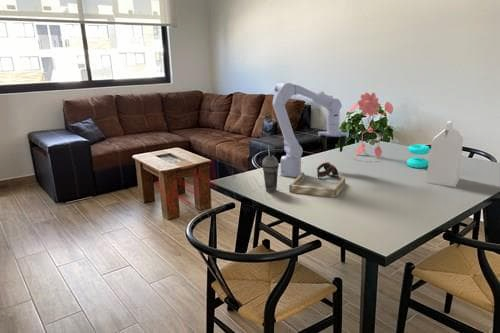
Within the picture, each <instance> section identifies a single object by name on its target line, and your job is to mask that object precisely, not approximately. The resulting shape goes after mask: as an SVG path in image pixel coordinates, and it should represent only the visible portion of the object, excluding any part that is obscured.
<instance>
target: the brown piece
mask: <svg viewBox="0 0 500 333" xmlns="http://www.w3.org/2000/svg"><path fill="white" fill-rule="evenodd" d="M322 168H323V169H324V170H322V171H320V170H321V169H322ZM331 175H332V176H336V177H337V179H340V175H339V171H338V169H337V167H336V166H335V164H334V165H333V164H332V163H331V162H328V161H326V162H324V163H320V165H318V167H316V176H317V179H318V178H324V177H327V176H329V177H330V176H331Z"/></svg>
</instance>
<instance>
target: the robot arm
mask: <svg viewBox="0 0 500 333" xmlns="http://www.w3.org/2000/svg"><path fill="white" fill-rule="evenodd" d="M273 92H274V93H273V97H272V98H273V99H272V103H271V104H272V107H273V110H274V113H275V116H276V119H277V121H278V122H277V123H278V125H279V128H280V130H281V133H282V136H283V144H284V146H283V150H284V152H285V153H286V154H285V155H282V156H281V158H280V164H279V165H280V174H279V175H280V176H283V177H284V176H285V177H291V178H292V177H293V178H297V177H298V176H299V175H300V174H301V173H304V172H305V171H303V170H302V155H303V148H302V147H303V146H301V144H299V141H298V140H297V138H296V136H295V134H294V130H293V128H292V125H291V121H290V118H289V115H288V112H287V108H286V104H287V102H288V101H289V100H290V99H291V98H292V97H293V96H297V95H301V96H303V97H306V98H308V99H311V101H312V102H313V104H315V105H318V106H319V107H323V108H325V109H326V112H327V113H326V121H327V122H326V130H327V131H318V132H317V136H318V137H319V140H320V141H321V145H322V147H323V151H325V152H326V151H327V150H328V146H327V145H328V144H327V142H328V140H327V139H328V137H334V138H336V137H338V138H339V152H340V153H341V152H343V148H344V144H345V142H346V140H347V138H349V136H350V133H349V132H346V131H345V132H344V131H340V110H341V109H342V107H343V104H342V102H341V100H340V99H339V98H335V97H334V96H333V95H328V94H326V93H325V91H323V90H322V91H317V92H314V91H312V90H310V89H308V88H305V87H304V86H301V85H298V84H295V83H294V84H293V83H291V82H285V81H280V82H277V84H276V86H275V87H274V88H273Z"/></svg>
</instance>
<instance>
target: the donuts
mask: <svg viewBox="0 0 500 333" xmlns="http://www.w3.org/2000/svg"><path fill="white" fill-rule="evenodd" d="M407 150H408V152H409V153H410V154H413V155H416V157H410V158H408V159H407V160H406V164H407V166H409V167H412V168H415V169H424V168H428V164H429V159H426V158H424V157H418V156H417V155H419V156H424V155H427V154H430V150H431V147H430V146H428V145H426V144H418V143H417V144H410V145H409V146H408V147H407Z"/></svg>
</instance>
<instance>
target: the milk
mask: <svg viewBox="0 0 500 333" xmlns="http://www.w3.org/2000/svg"><path fill="white" fill-rule="evenodd" d="M463 138H464V137H463V136H462V135H461V134H460V132H459V131H458V130H457V129H455V128H454V127H453V120H448V121H447V122H446V123H445V128H444V129H443V130H442V131H441V132H439V133H438V134H437V135H436V136H434V138H432V140H431V143H430V144H431V145H430V152H429V159H428V162H429V164H428V166H427V172H426V179H425V183H426V184H432V185H440V186H445V187H455V188H456V187H457V184H458V183H459V181H460V179H461V168H462V167H461V166H462V155H463V142H464V139H463Z"/></svg>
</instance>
